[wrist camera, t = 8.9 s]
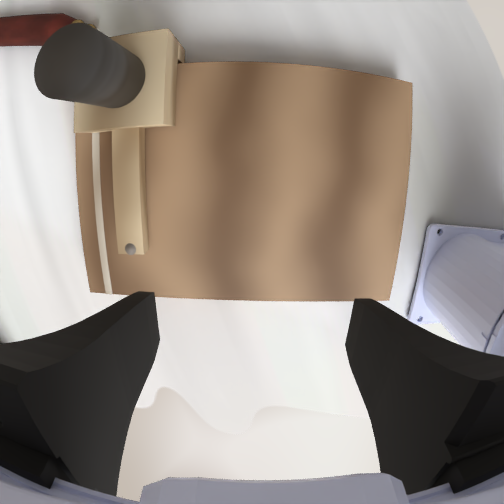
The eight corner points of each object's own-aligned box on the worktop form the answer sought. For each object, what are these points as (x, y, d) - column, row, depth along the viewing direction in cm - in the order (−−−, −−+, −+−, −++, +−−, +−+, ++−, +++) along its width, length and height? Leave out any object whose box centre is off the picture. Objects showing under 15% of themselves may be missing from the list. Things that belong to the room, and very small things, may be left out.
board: (398, 87, 17) (412, 82, 15) (378, 287, 22) (389, 300, 20) (91, 82, 17) (77, 77, 15) (101, 280, 21) (90, 292, 19)
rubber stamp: (184, 50, 16) (134, -14, 7) (183, 240, 20) (136, 313, 11) (110, 59, 16) (25, 20, 7) (112, 239, 20) (35, 302, 11)
